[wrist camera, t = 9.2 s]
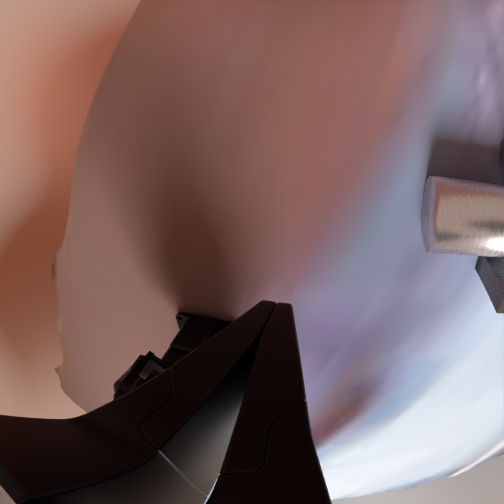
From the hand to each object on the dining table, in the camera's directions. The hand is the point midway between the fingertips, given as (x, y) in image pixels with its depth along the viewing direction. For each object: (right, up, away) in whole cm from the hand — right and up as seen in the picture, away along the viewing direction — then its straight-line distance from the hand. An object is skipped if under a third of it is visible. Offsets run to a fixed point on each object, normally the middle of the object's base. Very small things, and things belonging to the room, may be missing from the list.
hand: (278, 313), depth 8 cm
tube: (+19, +4, +5) cm, 20 cm away
